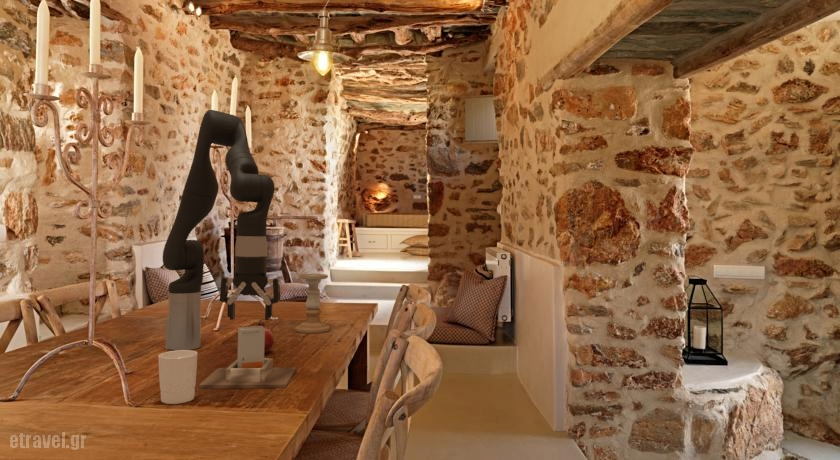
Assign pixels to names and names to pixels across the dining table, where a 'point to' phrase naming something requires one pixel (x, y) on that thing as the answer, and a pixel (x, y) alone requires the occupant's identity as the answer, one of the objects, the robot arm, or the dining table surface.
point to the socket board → (249, 377)
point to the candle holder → (313, 306)
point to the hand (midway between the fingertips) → (249, 319)
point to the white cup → (177, 376)
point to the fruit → (267, 338)
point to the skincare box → (251, 347)
